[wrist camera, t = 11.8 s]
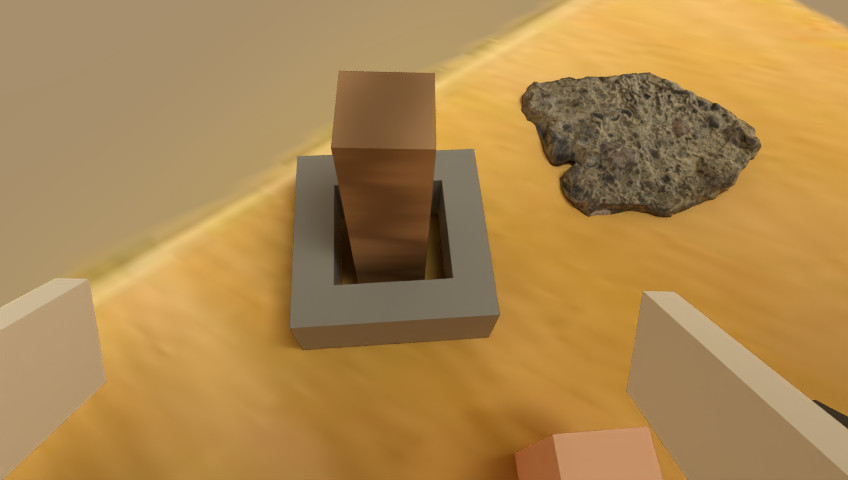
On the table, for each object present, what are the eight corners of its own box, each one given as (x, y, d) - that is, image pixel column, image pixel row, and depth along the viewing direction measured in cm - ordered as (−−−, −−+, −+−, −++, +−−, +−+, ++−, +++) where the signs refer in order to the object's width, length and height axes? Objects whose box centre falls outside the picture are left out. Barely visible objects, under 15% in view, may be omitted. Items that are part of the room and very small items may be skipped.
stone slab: (772, 218, 36) (801, 195, 33) (539, 224, 35) (551, 200, 32) (714, 89, 42) (736, 60, 39) (514, 90, 41) (522, 60, 38)
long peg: (423, 233, 34) (434, 73, 21) (423, 289, 32) (436, 149, 19) (362, 232, 34) (338, 71, 21) (359, 288, 32) (330, 147, 19)
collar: (466, 184, 36) (473, 149, 32) (488, 337, 30) (499, 314, 27) (308, 192, 35) (297, 156, 31) (303, 349, 30) (289, 328, 26)
